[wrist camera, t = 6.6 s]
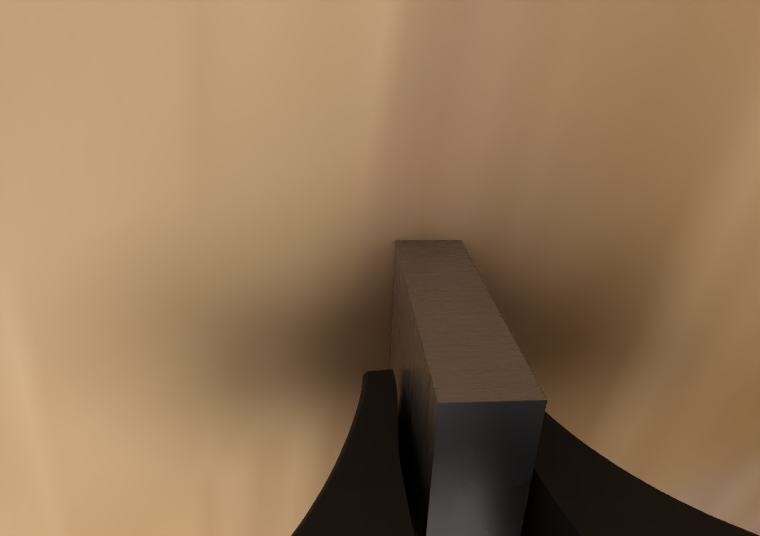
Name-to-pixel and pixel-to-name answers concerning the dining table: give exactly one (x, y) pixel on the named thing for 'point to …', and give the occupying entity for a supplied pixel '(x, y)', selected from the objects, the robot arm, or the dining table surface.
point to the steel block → (460, 397)
